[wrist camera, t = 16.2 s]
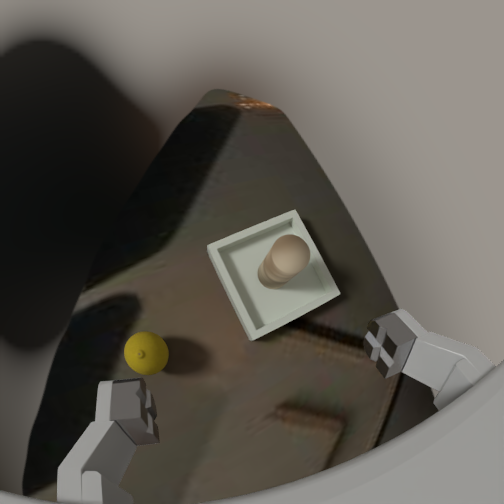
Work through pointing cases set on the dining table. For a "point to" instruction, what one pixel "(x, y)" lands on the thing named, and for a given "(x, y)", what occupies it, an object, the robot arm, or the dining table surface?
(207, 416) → the dining table surface
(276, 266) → the dowel
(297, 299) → the tray
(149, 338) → the lemon
